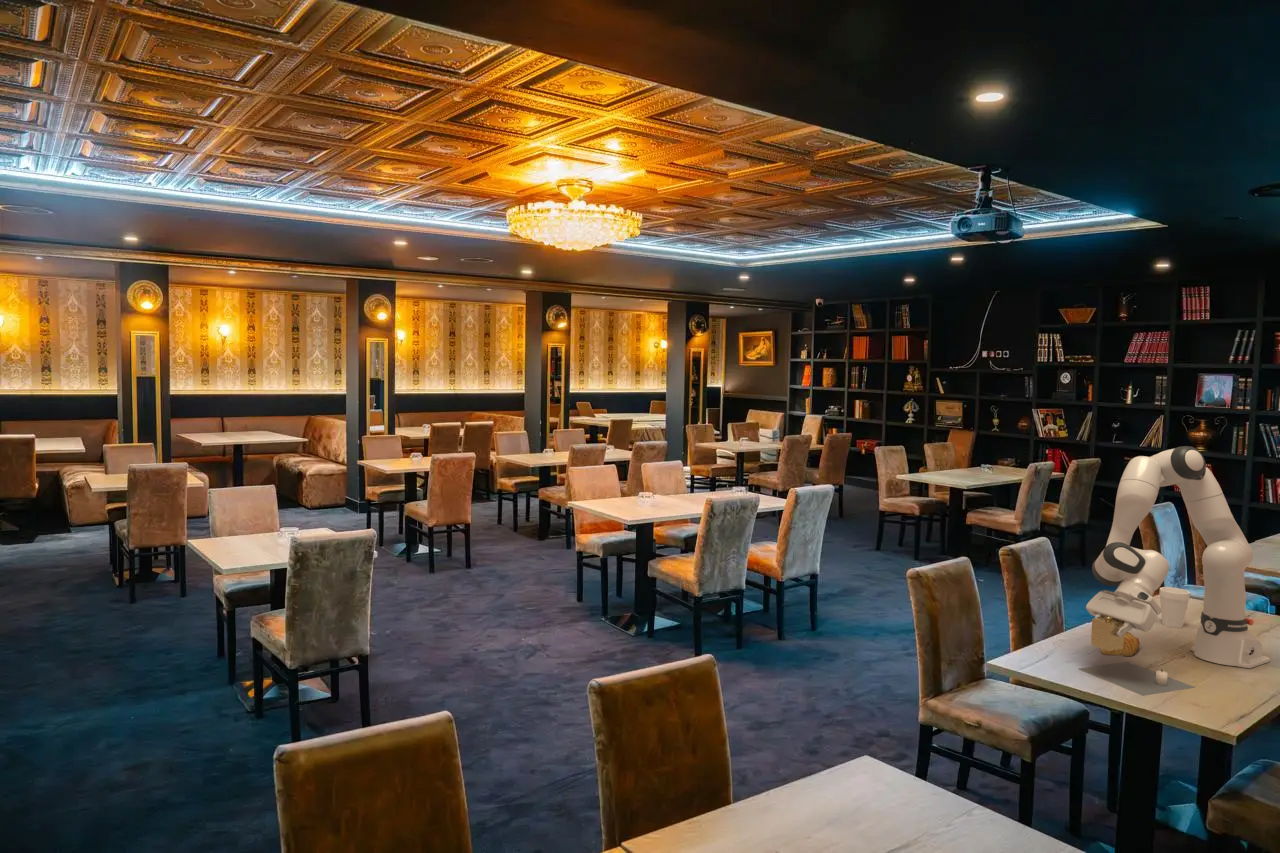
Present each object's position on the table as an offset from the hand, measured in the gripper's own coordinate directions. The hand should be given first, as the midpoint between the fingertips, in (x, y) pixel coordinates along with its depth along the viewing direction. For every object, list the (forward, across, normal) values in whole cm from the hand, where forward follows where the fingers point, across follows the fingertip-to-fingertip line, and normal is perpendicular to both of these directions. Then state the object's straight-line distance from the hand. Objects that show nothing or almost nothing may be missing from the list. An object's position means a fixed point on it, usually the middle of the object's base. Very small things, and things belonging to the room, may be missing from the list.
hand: (1106, 631), depth 252 cm
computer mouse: (+3, +11, +16) cm, 20 cm away
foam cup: (-40, -31, +60) cm, 79 cm away
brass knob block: (+3, 0, +4) cm, 5 cm away
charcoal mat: (+5, +5, +14) cm, 16 cm away
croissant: (-8, -16, +28) cm, 33 cm away
